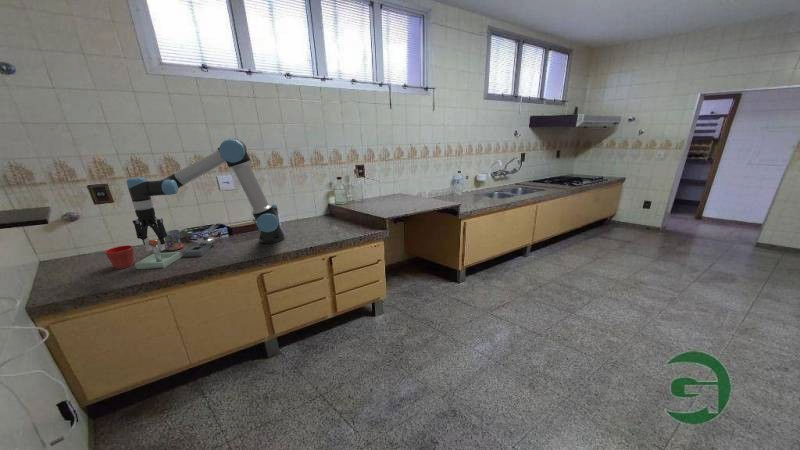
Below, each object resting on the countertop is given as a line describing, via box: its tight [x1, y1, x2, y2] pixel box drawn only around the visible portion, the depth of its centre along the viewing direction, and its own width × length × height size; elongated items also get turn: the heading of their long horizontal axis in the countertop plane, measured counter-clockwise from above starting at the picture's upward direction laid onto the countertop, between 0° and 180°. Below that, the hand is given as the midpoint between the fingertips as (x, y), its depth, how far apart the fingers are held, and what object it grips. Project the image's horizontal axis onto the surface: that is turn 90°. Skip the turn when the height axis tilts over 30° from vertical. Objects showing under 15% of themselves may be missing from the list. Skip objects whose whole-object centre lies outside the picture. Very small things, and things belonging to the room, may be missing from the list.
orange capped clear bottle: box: [148, 238, 163, 262], centre depth 159 cm, size 4×4×12 cm
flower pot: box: [104, 244, 135, 270], centre depth 157 cm, size 11×11×10 cm
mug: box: [164, 229, 184, 251], centre depth 181 cm, size 12×9×11 cm
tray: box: [134, 251, 183, 270], centre depth 161 cm, size 14×14×3 cm
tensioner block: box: [181, 235, 216, 258], centre depth 177 cm, size 10×20×7 cm, turn 3°
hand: (156, 250), depth 159 cm, fingers open, 6 cm apart
